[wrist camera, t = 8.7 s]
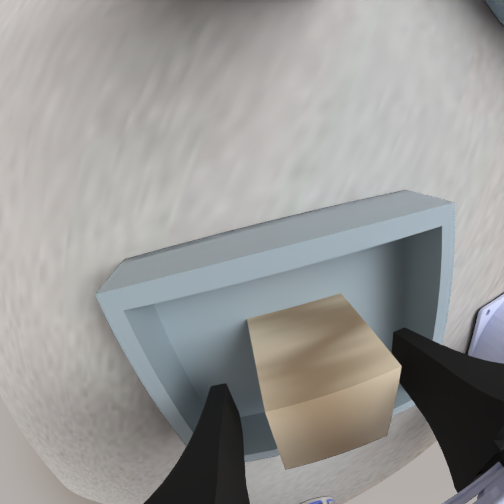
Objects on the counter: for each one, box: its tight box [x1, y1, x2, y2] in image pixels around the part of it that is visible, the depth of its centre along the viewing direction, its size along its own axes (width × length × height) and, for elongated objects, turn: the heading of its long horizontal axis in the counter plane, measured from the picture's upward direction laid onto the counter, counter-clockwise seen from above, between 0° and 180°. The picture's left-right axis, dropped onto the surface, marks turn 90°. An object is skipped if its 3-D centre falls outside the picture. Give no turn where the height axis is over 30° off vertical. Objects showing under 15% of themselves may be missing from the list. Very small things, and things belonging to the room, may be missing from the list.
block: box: [247, 293, 402, 470], centre depth 11 cm, size 4×4×6 cm
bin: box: [95, 190, 455, 462], centre depth 12 cm, size 14×12×4 cm
